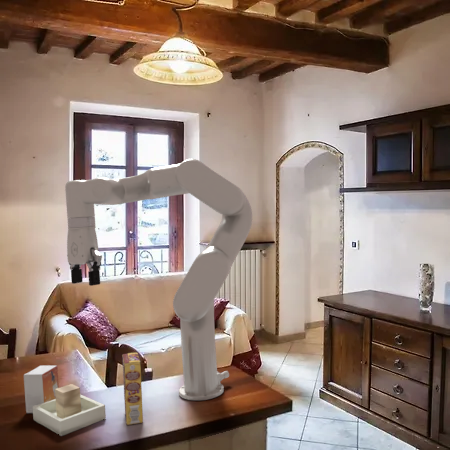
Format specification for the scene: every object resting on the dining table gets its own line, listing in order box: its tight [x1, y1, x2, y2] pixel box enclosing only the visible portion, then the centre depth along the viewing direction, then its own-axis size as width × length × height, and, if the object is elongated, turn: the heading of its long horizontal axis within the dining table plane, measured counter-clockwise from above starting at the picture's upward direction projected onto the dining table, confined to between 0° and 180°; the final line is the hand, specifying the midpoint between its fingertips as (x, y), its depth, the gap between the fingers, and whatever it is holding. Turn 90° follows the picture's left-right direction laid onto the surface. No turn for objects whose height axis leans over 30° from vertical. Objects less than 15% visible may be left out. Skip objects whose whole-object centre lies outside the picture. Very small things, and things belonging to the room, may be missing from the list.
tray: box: [32, 393, 107, 437], centre depth 124 cm, size 12×15×4 cm
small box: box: [23, 365, 60, 414], centre depth 133 cm, size 8×6×10 cm
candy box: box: [121, 352, 144, 426], centre depth 123 cm, size 9×4×15 cm, turn 14°
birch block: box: [55, 383, 81, 419], centre depth 124 cm, size 4×4×7 cm
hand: (85, 283), depth 139 cm, fingers open, 9 cm apart
